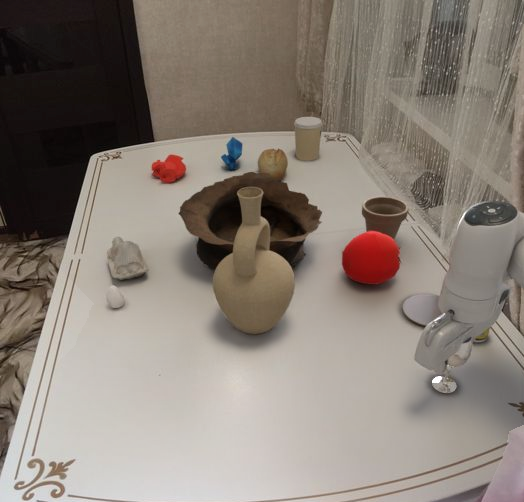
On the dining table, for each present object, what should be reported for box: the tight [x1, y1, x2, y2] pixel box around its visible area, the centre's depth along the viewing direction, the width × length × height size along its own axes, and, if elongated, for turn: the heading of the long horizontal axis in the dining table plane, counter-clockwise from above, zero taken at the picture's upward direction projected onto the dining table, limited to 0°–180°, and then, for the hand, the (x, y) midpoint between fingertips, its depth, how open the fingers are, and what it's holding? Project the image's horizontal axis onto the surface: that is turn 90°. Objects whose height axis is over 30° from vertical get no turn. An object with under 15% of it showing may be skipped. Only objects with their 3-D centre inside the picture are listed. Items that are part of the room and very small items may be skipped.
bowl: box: [178, 171, 323, 271], centre depth 136 cm, size 34×33×15 cm
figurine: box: [106, 236, 149, 281], centre depth 132 cm, size 15×11×8 cm
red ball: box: [341, 231, 403, 285], centre depth 126 cm, size 13×13×13 cm
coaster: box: [401, 293, 443, 328], centre depth 119 cm, size 12×12×1 cm
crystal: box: [220, 136, 243, 171], centre depth 181 cm, size 7×9×12 cm
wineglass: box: [431, 337, 473, 394], centre depth 98 cm, size 6×6×12 cm
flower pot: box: [361, 196, 410, 240], centre depth 140 cm, size 12×11×10 cm
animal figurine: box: [150, 153, 187, 183], centre depth 178 cm, size 12×15×5 cm
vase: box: [212, 187, 296, 335], centre depth 108 cm, size 17×17×30 cm
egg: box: [105, 284, 126, 309], centre depth 122 cm, size 4×4×6 cm
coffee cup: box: [293, 116, 323, 162], centre depth 185 cm, size 9×9×12 cm
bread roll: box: [257, 148, 289, 181], centre depth 175 cm, size 10×15×8 cm, turn 3°
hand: (450, 362), depth 98 cm, fingers closed on wineglass, 5 cm apart
